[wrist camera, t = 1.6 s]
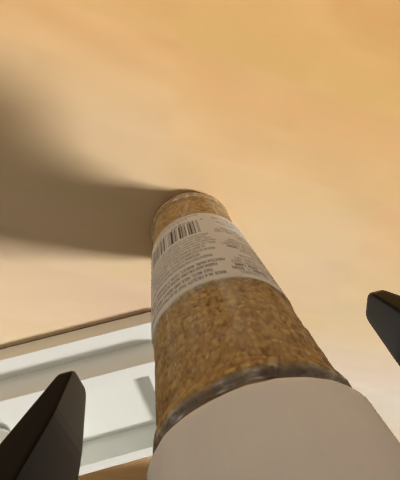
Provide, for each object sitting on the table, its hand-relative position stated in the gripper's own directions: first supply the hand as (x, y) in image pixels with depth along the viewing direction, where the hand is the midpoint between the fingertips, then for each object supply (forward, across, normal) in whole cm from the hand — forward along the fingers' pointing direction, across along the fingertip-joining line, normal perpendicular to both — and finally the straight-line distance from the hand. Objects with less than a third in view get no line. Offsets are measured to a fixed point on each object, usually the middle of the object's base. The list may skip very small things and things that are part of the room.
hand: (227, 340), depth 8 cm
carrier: (+8, +12, +11) cm, 18 cm away
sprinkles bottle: (+9, 0, 0) cm, 9 cm away
